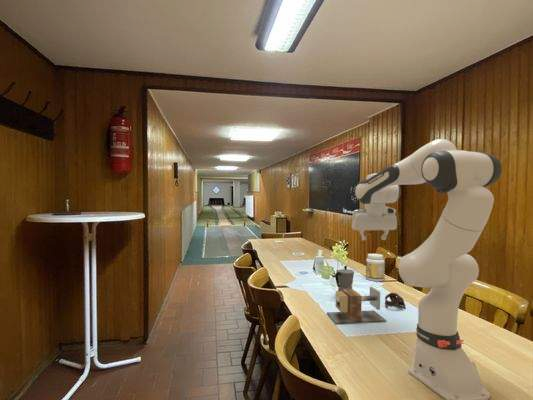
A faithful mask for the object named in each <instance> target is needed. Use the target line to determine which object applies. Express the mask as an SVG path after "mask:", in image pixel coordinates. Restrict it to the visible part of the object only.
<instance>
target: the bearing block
mask: <svg viewBox="0 0 533 400" xmlns="http://www.w3.org/2000/svg"><path fill="white" fill-rule="evenodd" d="M343 293H345V294H346V295H347V296H348V312H342V313H341V312H340V311H332V312H331V311H328V312H326V315H327V316H328V317H329V319H330V320H331V321H332V322H333V324H334V325H352V324H354V325H355V324H372V323H387V319H385V318H384V317H383V316H382V315H380V314H379V313H378V312H376V311H375V310H374V309H371V310H362V302H363V301H362V296H363V295H361V294H360V293H359V292H357V291H356V290H354V289H353V288H352V289H343Z"/></svg>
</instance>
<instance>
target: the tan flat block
mask: <svg viewBox="0 0 533 400" xmlns="http://www.w3.org/2000/svg"><path fill="white" fill-rule="evenodd" d="M336 297H339V298H340V302H336V301H335V308H336V309H337V310H338V312H341V313H342V312H348V296H347V295H346V294H345V293H343V292H342V291H338V290H335V298H336Z"/></svg>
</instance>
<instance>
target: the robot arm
mask: <svg viewBox="0 0 533 400" xmlns="http://www.w3.org/2000/svg"><path fill="white" fill-rule="evenodd" d="M502 169H503V167H502V163H501V161H500V159H499V158H498V157H497V156H495V155H493V154H490V153H487V152H485V151H484V152H482V151H467V150H461V149H460V150H458V149H457V147H456V145H455V144H454V143H453V142H451V141H450V140H448V139H445V138H438V139H437V138H436V139H434V140H432V141H430V142H428V143H426V144H425V145H423V146H421V147H420V148H418V149H417V150H415V151H414V152H413V153H412V154H410V155H409V156H406V157H405V158H403V159H402V160H400V161H397V162H396V163H394V164H392V165H390V166H387V167H386V168H384V169H382V170H380V171H379V172H374V173H369V174H367V176H366V179H361V180H360V181H359V182H358V183H357V185H356V186H355V188H354V195H355V198H356V200H358V202H360V203H361V204H362V205H364V208H363V209H355V210H353V212H352V214H351V215H352V216H351V217H352V220H351V229H352V230H353V231H358V233H359V234H360V236H361V240H362V241H367V236H365V234H364V233H365V231H383V234H382V235H380V239H381V241H386V239H387V236H388V234H389V232H390V231H395V230H397V228H398V220H397V215H396V213H397V212H396V211H397V210H396V209H395V208H393V207H390V206H386V204H395V203H397V201H398V200H399V199H400V197H401V194H402V192H401V189H402V188H401V186H400V185H405V186H406V185H408V186H409V185H421V184H424V183H427V184H428V185H429V186H430V187H432V188H433V189H434V190H435V191H436V192H437V193H439V194H441V195H443V194H446V193H447V201H446V204H445V207H444V208H443V210H442V212H441V215H440V217H439V219H438V221H437V223H436V226H435V227H434V229H433V231H432V232H431V233H430V235H429V236H428V237H427V239H426V240H424V241H423V243H421V244H420V245H419V246H418V247H417V248H415V249H414V250H413V251H412V252H410V253H407V254H405V255H403V256H402V257H401V258H400V260H399V262H398V267H397V268H398V274H399V277H400V278H401V280H402V282H403V283H405V284H406V285H408V286H412V287H416V288H417V287H418V288H430V290H429V291H428V292H427V294H425V295H424V296H422V297H421V298H420V300H419V302H418V306H417V308H418V309H417V310H418V311H417V312H418V313H417V315H418V316H417V322H418V323H417V324H416V328H415V329H416V337H417V338H416V339H417V340H416V342H415V344H414V346H413V353H412V360H411V366H410V367H409V368H408V373H409V374H411V376H413V377H414V378H416V379H417V380H418V381H420V382H421V383H423V384H424V385H425V386H426V387H428V388H429V389H431V390H432V391H434V392H435V393H436V394H438V395H439V396H440V397H442V398H443V399H444V400H489V399H490V398H491V393H490V392H489V391H488V389H486V387H484V386H483V385H482V384H481V380H480V374H479V371H478V370H477V364H476V363H475V362H473V361H471V360H470V357H469V356H468V355H467V353H466V352H465V351H464V349H463V348H462V345H464V340H463V339H462V340H461V338H460V335H459V331H458V315H459V308H460V307H459V306H460V304H461V301H462V298H463V296H464V295H465V292H467V289H468V287H470V285H472V284H473V283H474V282H476V281H477V279H478V277H479V273H480V268H479V264H478V262H477V260H476V259H475V258H474V257H473V256H472V255H470V254H469V252H471V250H473V249H474V247H475V245H476V243H477V241H478V239H479V238H480V236H481V234H482V232H483V230H484V228H485V227H486V225H487V223H488V221H489V219H490V215H491V213H492V210H493V208H494V207H493V206H494V203H495V197H494V195H493V193H492V191H490V190H489V189H488V188H487V187H490V186H492V185H494V184H495V183H496V182H497V181H498V180H499V179H500V178H501V176H502Z"/></svg>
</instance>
